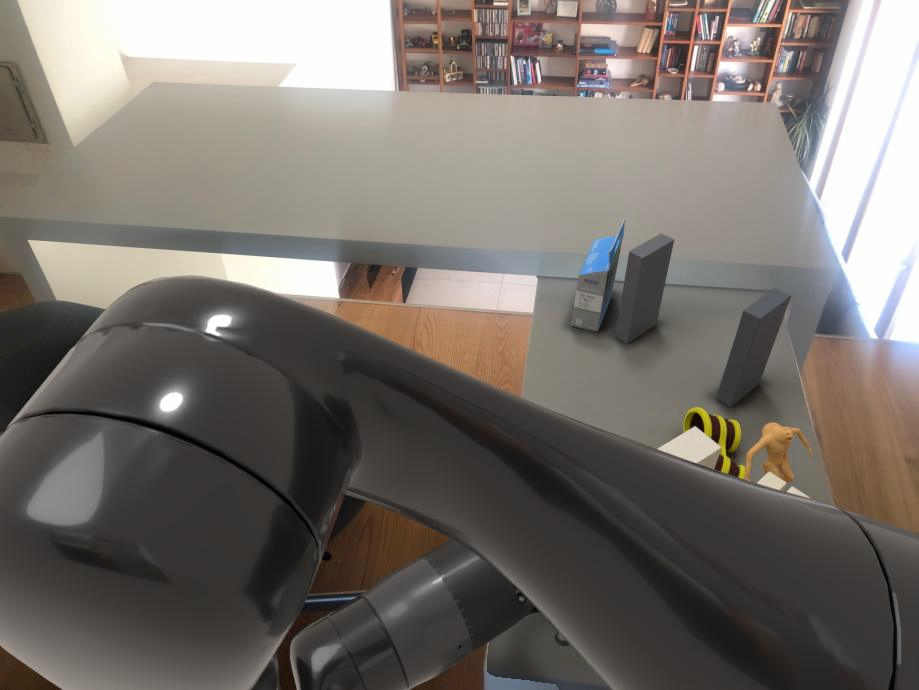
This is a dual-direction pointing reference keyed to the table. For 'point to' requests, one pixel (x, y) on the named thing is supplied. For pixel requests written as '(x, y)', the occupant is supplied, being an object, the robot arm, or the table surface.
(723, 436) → the opera glasses
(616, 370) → the table surface
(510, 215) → the table surface
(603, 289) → the label tape box
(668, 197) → the table surface
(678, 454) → the thin white book
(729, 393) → the grey rectangular blocks
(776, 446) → the figurine
